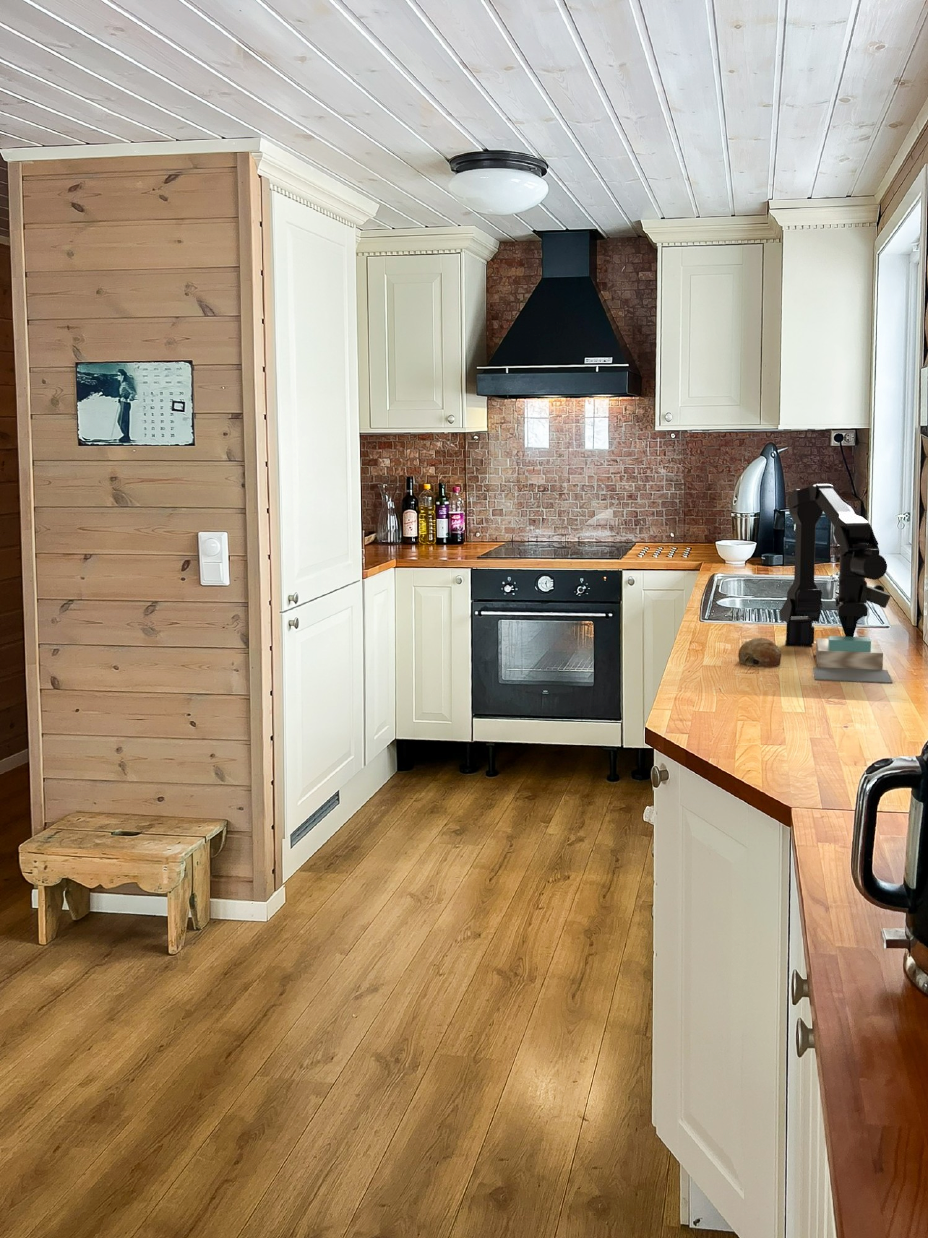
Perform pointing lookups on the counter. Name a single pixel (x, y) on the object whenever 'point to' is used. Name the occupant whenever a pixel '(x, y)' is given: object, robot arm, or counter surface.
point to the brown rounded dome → (760, 653)
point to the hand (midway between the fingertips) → (849, 641)
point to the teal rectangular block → (849, 644)
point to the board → (849, 657)
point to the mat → (852, 675)
